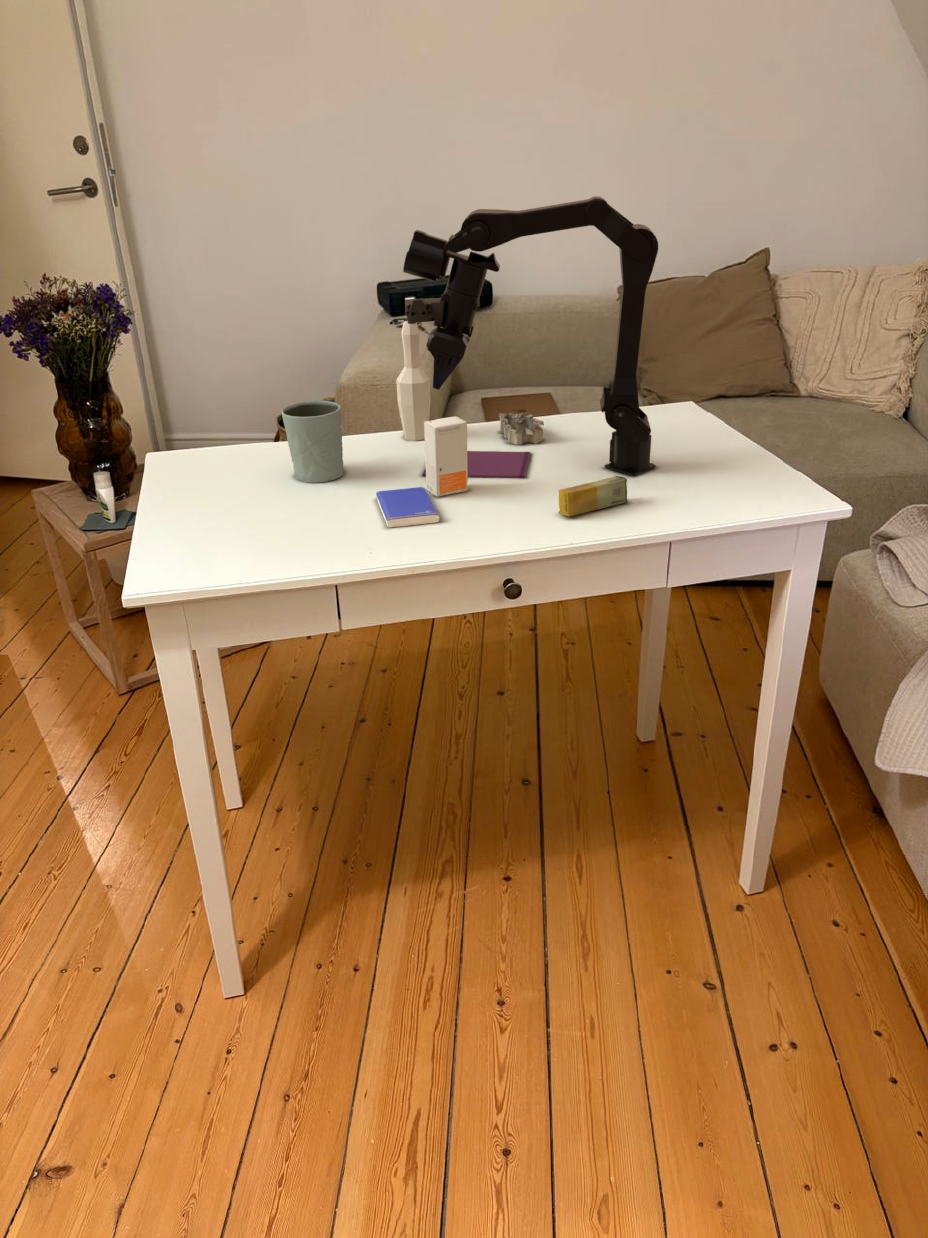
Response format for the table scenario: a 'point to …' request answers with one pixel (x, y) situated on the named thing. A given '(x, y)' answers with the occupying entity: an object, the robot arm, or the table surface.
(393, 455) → the table surface
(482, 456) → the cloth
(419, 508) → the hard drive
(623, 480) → the medication box
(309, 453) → the green plant pot
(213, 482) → the table surface
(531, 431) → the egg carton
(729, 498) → the table surface
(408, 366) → the faceted bottle
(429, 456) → the cosmetic box
